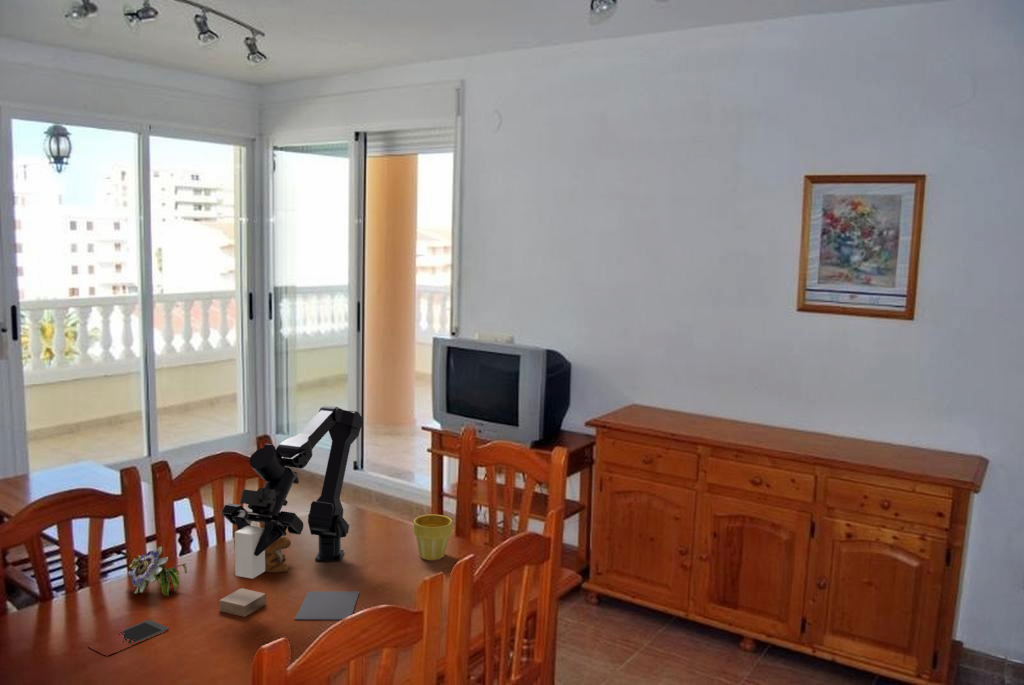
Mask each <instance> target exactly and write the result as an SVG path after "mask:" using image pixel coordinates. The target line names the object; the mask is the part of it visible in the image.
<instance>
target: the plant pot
mask: <svg viewBox="0 0 1024 685" xmlns="http://www.w3.org/2000/svg"><path fill="white" fill-rule="evenodd" d="M412 529H413V535H414V536H416V543H417V548H418V554H419V555H418V556H419V557H420V558H421V559H422V558H423V560H425V559H426V560H425V561H436V560H435V559H439V560H441V559H440V558H442V557H443V558H444V557H445V556H446V550H447V547H448V542H449V538H450V536H451V535H452V533H453V520H452V519H451V517H449V516H446V515H442V514H423V515H419V516H417V517H415V518H414V520H413V526H412ZM444 555H445V556H444ZM443 558H442V559H443Z"/></svg>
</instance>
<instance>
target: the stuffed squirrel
mask: <svg viewBox="0 0 1024 685" xmlns="http://www.w3.org/2000/svg"><path fill="white" fill-rule="evenodd" d="M264 526H265V523H262V522H260V528H264ZM233 542H234V543H233V544H235V538H234V541H233ZM291 545H292V542H291V540H290V538H288V537H287V536H281V537H280V538H279V539H277V540H276V541H275V542H273V543H272V544H271V545H270V546H268V547H267V548H266V549H265V571H264V572H267V573H270V574H271V573H285V572H287V571H288V569H289V565H288V564H287V563H285V562H283V560H284V559H285V558H286V554H285V553H283V552H282V550H284V549H285V550H286V549H287V548H289V547H290V546H291Z"/></svg>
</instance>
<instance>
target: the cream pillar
mask: <svg viewBox="0 0 1024 685" xmlns="http://www.w3.org/2000/svg"><path fill="white" fill-rule="evenodd" d="M263 532H264V528H261V526H253V525H251V526H246V527H244V528H242V529H240V530H238V531H237V530H236V531H235V532H234V539H235V543H234V559H235V560H234V563H235V568H234V569H235V576H237V577H242V578H247V579H255V578H257V577H258V576H260V575H261V574H263V573H264V572H265V550H264V551H263V552H262V553H260V554H259V555H258V556H255V555H254V552H255V549H256V547H257V545H258V542H259V540H260V538H261V536H262V534H263Z"/></svg>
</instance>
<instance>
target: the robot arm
mask: <svg viewBox="0 0 1024 685" xmlns="http://www.w3.org/2000/svg"><path fill="white" fill-rule="evenodd" d="M363 419H364V418H363V417H362V415H361V413H360V412H359V411H355V410H345V409H342V408H340V407H338V406H330V405H323V406H321V407H320V408H319V410H318V413H317V414H315V416H314V417H313V418H312V419H311V420H310V421H309V422H308V423H307V424H306V425H305V426H304V427H303V429H301V430H300V431H299V433H298V434H296V435H294V436H291V437H287V438H286V439H285V440H283V441H281V442H280V443H279V444H278V445H277V446H276V447H275V445H274V444H272V443H265V444H264V446H263V447H261V448H259V449H257V450H256V451H254V452H253V453H252V454H251V455H250V458H249V460H248V462H249V465H250V467H251V468H252V470H253V471H254V472H256V474H257V475H258V476H259V478H261V480H263V481H265V484H264V485H263V488H262V487H259V488H258V489H257V490H253V489H245V488H243V489H242V492H241V496H240V501H239V504H236V503H227V504H225V505H224V506H223V508H222V510H221V512H220V514H221V515H222V516H224V518H225V519H226V520H227V521H229V522H230V523H231V524H232V525H234V526H235V525H236V527H237V528H236V529H237V530H236V531H238V530H240V529H242V528H244V527H246V526H252V523H253V522H255V523H265V526H264V532H263V534H262V536H261V538H260V540H259V542H258V545H257V547H256V549H255V552H254V555H255V556H258V555H259V554H260V553H262V552H263V551H264V550H265V549H266V548H267V547H268V546H270V545H271V544H272V543H273V542H275V541H276V540H277V539H279V538H280V537H281V536H284V537H287V532H288V533H289V534H293V535H301V534H302V532H303V529H304V522H303V521H302V520H301V518H300V517H299V516H298V515H297V513H295V512H291V511H284V510H282V508H283V506H284V507H287V505H288V503H289V502H288V501H287V497H288V496H289V493H290V490H291V488H292V486H293V484H297V485H298V484H299V482H300V480H299V477H298V472H296V471H293V470H292V469H293V468H294V469H300V470H301V469H302V470H303V469H304V468H305V467H306V466H307V465H308V463H309V462H310V461H311V459H312V457H313V449H314V448H315V447H316V445H317V444H318V443H319V442H320V441H321V439H323V437H324V436H326V434H327V433H329V436H330V438H331V446H330V450H329V456H328V458H327V465H326V469H325V475H324V480H323V484H322V488H321V492H320V496H318V498H317V499H316V501H315V500H313V501H312V502H311V503H310V509H309V513H308V515H307V523H308V528H309V531H310V535H312V536H314V535H315V536H317V538H318V539H317V540H318V552H317V554H316V556H315V558H314V561H315V562H319V561H320V562H340V561H341V560H342V558H343V555H344V552H345V551H344V549H342V548H341V547H342V544H341V543H342V542H341V540H342V538H346V537H347V535H348V533H349V530H350V524H348V522H347V521H346V520H345V519H344V508H343V505H342V502H341V500H340V499H341V493H342V488H343V484H344V478H345V474H346V468H347V464H348V460H349V455H350V449H351V445H352V444H353V443H354V442H355V440H356V439H357V438H358V437H359V435H360V432H361V429H362V427H363V423H364V420H363ZM291 468H292V469H291ZM244 504H246V505H247V508H248V510H252V511H247V510H246V508H244V507H243V505H244ZM286 531H287V532H286Z"/></svg>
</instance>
